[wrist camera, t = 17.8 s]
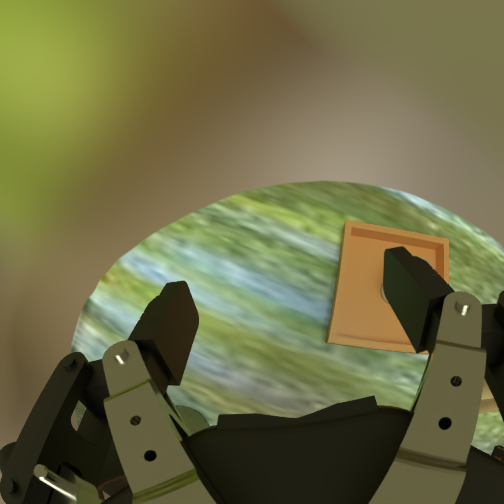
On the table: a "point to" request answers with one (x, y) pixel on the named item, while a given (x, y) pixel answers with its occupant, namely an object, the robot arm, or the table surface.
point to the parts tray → (375, 285)
